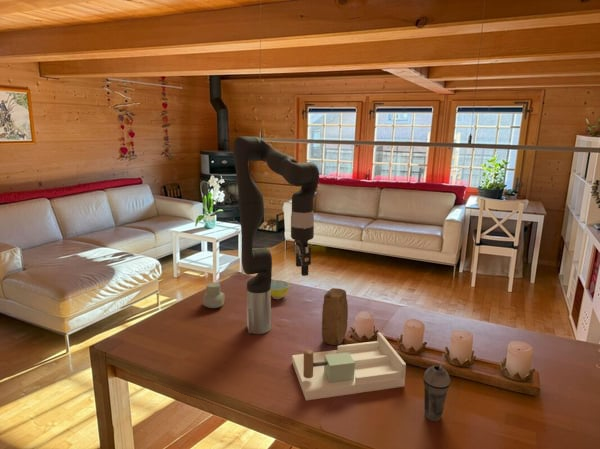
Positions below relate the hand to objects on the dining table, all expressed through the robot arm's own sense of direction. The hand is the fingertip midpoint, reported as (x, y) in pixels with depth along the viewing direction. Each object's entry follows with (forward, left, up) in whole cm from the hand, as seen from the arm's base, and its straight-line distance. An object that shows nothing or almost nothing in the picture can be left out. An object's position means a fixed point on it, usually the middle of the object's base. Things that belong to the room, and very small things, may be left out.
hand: (301, 270), depth 141 cm
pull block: (+4, -19, -29) cm, 35 cm away
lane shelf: (+12, -14, -32) cm, 37 cm away
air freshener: (-29, +47, -32) cm, 64 cm away
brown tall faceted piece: (+15, +8, -32) cm, 37 cm away
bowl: (0, +50, -32) cm, 60 cm away
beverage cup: (+30, -38, -32) cm, 58 cm away
